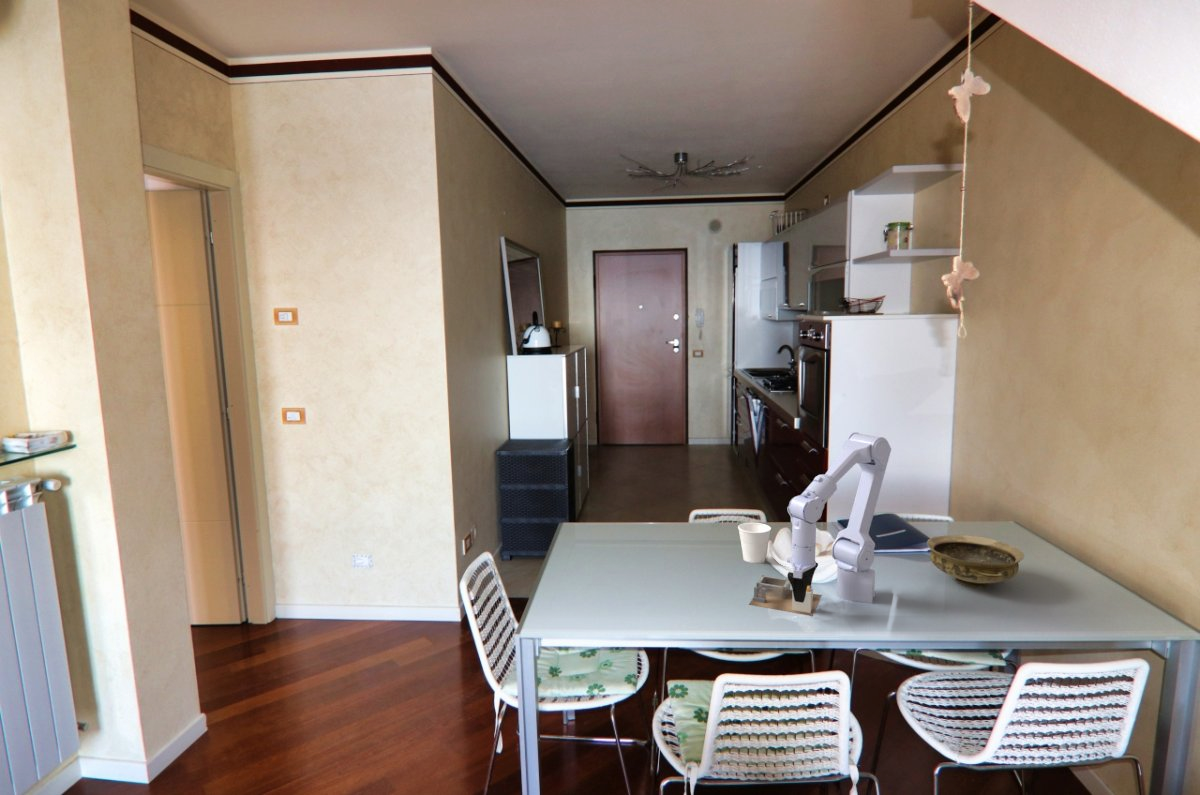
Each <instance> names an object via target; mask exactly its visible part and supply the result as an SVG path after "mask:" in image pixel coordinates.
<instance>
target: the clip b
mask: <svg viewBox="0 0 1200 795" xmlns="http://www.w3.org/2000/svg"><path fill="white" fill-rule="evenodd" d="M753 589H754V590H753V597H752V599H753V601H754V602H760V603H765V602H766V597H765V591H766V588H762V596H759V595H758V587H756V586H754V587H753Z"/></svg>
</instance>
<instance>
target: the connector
mask: <svg viewBox="0 0 1200 795" xmlns="http://www.w3.org/2000/svg"><path fill="white" fill-rule="evenodd" d="M791 590H792V589H791ZM813 594H814V588H812V587H811V588H810V586H807V590H806V596H805V600H804V602H803V603H802V602H796V601H795V599H794V595H793V590H792V610H796V611H802V612H807V613H811V611H812V607H813Z"/></svg>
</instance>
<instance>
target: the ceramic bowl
mask: <svg viewBox="0 0 1200 795" xmlns="http://www.w3.org/2000/svg"><path fill="white" fill-rule="evenodd" d="M926 546H927V547H928V548H929V549H930V553H929V554H930V556H929V558H930V561H931V562H932V564H933V565H934V566H935V568H937V569H938V570H939V571H941V572H943V573H944V574H946V575H948V576H950V577H953V578H954V579H955V582H956V583H958V584H961V585H963V586H965V587H966V586H967V587H971V588H985V587H988V586H989V584H996V583H1001V582H1006V581H1009V580H1011V579H1013V578H1014V577H1015V576H1016V575H1017V573H1018V572H1019V563H1020V562H1021V561H1023V560H1024V558H1025V554H1024V552H1023V551H1022V550H1020V549H1019V548H1017V547H1015V546H1013V545H1010V544H1009V543H1005V542H1003V541H999V540H995V539H992V538H988V537H983V536H974V535H960V534H959V535H957V534H955V535H952V534H945V535H937V536H933V537H930V538H928V540H927V541H926Z"/></svg>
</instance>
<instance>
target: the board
mask: <svg viewBox="0 0 1200 795" xmlns="http://www.w3.org/2000/svg"><path fill="white" fill-rule="evenodd" d="M758 595H759V594H758ZM759 596H762V595H759ZM822 596H823V595H822V594H818V593H813V607H812V611H811V613H807V612H802V611H796V610H792V589H790V592H789V594H788V595H787V597H786V599H782V598H776V597H770V596H765V597H766V602H765V603H760V602H754V601H753V598H752V599H751V601H750V602H749V603H748V605H749V606H752V607H753V606H754V607H759V608H763V609H769V610H770V609H771V610H775V611H776V610H777V611H781V612H788V613H793V614H798V615H803V616H808V617H813V616H814V614H815V611H816V609H817V606H818V604H819V603H820V600H821V598H822Z"/></svg>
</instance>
